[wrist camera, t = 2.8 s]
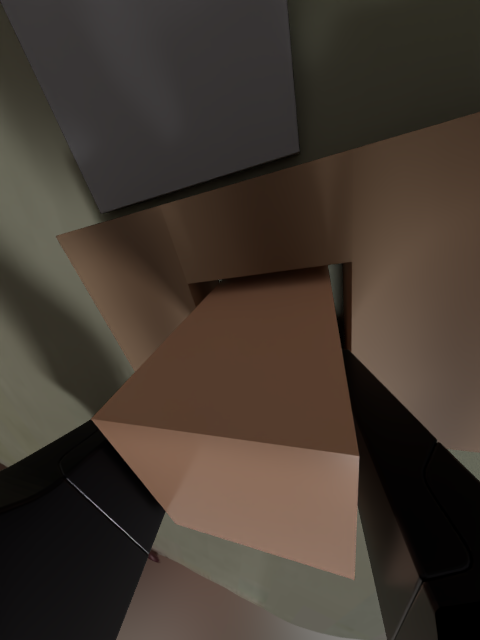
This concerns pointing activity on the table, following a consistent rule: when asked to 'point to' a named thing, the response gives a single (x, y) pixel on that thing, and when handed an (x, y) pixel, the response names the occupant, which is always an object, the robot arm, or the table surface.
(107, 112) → the pad
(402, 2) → the table surface
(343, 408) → the block
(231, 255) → the pocket board
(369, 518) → the robot arm
